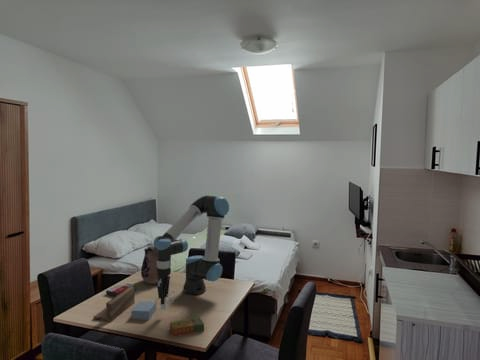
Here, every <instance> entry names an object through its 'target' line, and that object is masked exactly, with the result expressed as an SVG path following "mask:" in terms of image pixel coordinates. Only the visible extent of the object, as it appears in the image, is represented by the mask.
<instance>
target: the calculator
mask: <svg viewBox="0 0 480 360" xmlns="http://www.w3.org/2000/svg"><path fill="white" fill-rule="evenodd" d="M129 287H134V292H135V291H136V285H135V284H132V283H128V282H122V283H119V284H116V285H115V286H113V287H110V288H108V289H107V290H106V292H105V293H106V296H108V297H111V298H112V297H113V298H114V297H116V296H117V295H119V294H120V293H122V292H123V291H124V290H126V289H127V288H129Z"/></svg>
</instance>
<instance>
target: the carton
mask: <svg viewBox="0 0 480 360" xmlns="http://www.w3.org/2000/svg"><path fill="white" fill-rule="evenodd" d="M169 330H170V332H171V335H172V337H174V338H175V337H179V336H184V335H190V334H195V333H200V332H204V331H205V324H204V322H203V320H202V318H201V317H199V316H198V317H194V318H188V319H182V320H176V321H170V323H169Z"/></svg>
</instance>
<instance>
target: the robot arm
mask: <svg viewBox="0 0 480 360" xmlns="http://www.w3.org/2000/svg"><path fill="white" fill-rule="evenodd" d="M229 210H230V204H229V201H228V200H227V198H225V197H224V196H215V195H204V196H201V197H200V198H198V199H196V200H194V201H193V202H192V203H191V204H190V205H189V207H188V209H187V210H186V211H185V212H184V213H183V214H182V216H180V217H179V218H178V220H176V221H175V223H173V224H172V225H171V227H169V228H168V229H167V231H165V233H164V234H163V235H157V236H156V237H155V238H154V240H153V246H155V247H156V248H157V267H158V268H157V275H158V276H159V282H158V283H156V287H157V295H158V299H160V310H165V311H166V309H167V298H168V297H169V295H168V294H169V289H170V282H171V281H170V279H171V276H170V275H171V274H172V273H171V270H172V269H171V267H172V264H171V263H172V258H171V257H172V256H173V255H177V254H182V253H184V252H187V250H188V249H189V243H188V241H187V240H186V239H184V238H180V239H178V238H179V237H180V236H181V235H182V234H183V233H184V231H186V229H187V228H188V227H189V226H190V225H192V223H193V222H195V220H196V219H197V218H198V217H202V216H201V215H203V214H206V218H207V219H208V220H207V230H206V232H207V233H206V241H205V249H204V255H191V256H189V257H187V258H186V259H185V281H184V285H183V288H182V292H183V293H184V294H186V295H191V296H193V295H194V296H196V295H200V294H204V293H205V292H206V289H207V287H206V283H205V280H206V281H208V282H216V281H218V280H219V279H220V278H221V276H222V274H223V268H224V267H223V266H222V264H221V263H220V260H221V259H220V258H219V257H218V256H219V250H220V248H219V246H220V239H221V238H220V237H221V231H222V221H223V220H224V219H225V216H227V214H228V213H229V212H230V211H229Z"/></svg>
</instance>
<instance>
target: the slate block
mask: <svg viewBox="0 0 480 360" xmlns="http://www.w3.org/2000/svg"><path fill="white" fill-rule="evenodd" d="M130 311H131V314H130V315H131V316H130V317H131V320H144V321H145V320H146V321H148V320H150V319H151V318H152V317H153V315H154V314H155V313H156V312H157V301H138V303H137V304H136V305H135V306H134V307H133V309H132V310H130Z"/></svg>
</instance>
